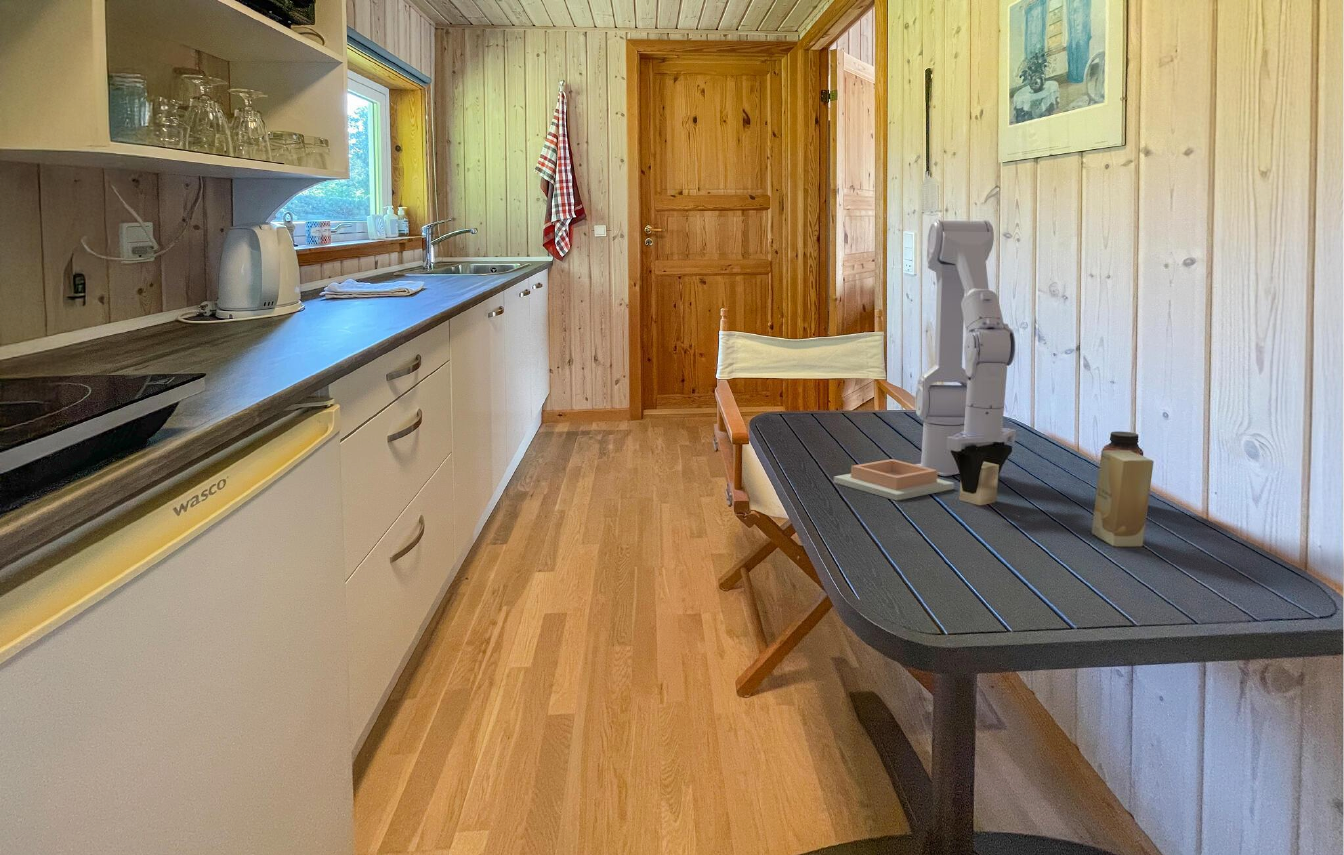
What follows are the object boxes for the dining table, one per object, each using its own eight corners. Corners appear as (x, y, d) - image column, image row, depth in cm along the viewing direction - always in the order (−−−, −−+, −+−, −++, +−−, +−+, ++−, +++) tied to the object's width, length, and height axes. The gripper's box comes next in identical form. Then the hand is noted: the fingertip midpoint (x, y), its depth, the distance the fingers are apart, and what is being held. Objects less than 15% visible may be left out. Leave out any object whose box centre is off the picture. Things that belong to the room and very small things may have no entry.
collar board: (890, 472, 172) (891, 455, 171) (953, 488, 161) (955, 471, 160) (833, 482, 164) (834, 465, 163) (896, 500, 153) (897, 482, 152)
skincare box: (1090, 533, 136) (1098, 449, 134) (1119, 533, 137) (1128, 449, 135) (1114, 547, 130) (1123, 459, 128) (1145, 547, 131) (1155, 459, 128)
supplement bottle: (1142, 509, 150) (1150, 438, 148) (1101, 506, 151) (1108, 435, 149) (1132, 499, 155) (1139, 430, 153) (1093, 497, 157) (1100, 428, 154)
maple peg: (975, 496, 156) (977, 460, 155) (995, 501, 153) (998, 464, 152) (959, 499, 154) (961, 463, 153) (980, 505, 150) (982, 468, 149)
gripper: (976, 413, 143) (970, 502, 146) (1035, 405, 151) (1027, 489, 154) (938, 406, 149) (932, 492, 151) (997, 399, 157) (990, 480, 159)
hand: (978, 490), depth 153 cm, fingers closed on maple peg, 4 cm apart
